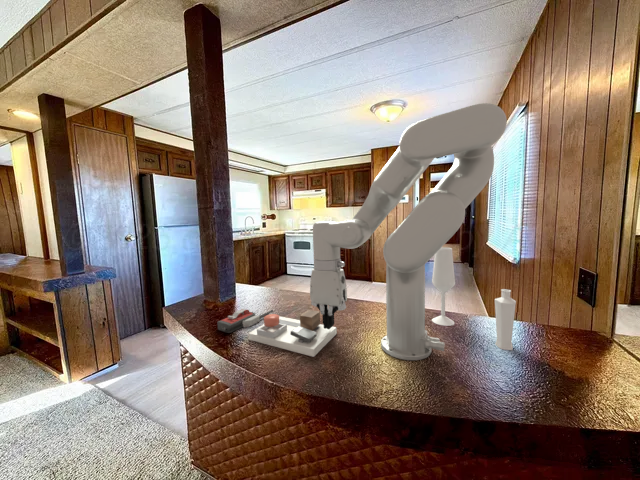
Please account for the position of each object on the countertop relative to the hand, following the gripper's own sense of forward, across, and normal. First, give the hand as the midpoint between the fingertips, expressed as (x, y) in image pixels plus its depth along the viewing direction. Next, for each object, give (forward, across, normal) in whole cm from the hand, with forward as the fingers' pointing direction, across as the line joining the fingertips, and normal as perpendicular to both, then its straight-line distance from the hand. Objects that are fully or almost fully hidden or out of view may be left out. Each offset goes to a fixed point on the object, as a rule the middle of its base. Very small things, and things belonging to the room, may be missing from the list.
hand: (328, 326), depth 73 cm
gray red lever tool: (+4, +32, +1) cm, 32 cm away
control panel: (+4, +10, +3) cm, 11 cm away
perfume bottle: (+3, -44, -14) cm, 46 cm away
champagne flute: (+3, -29, -26) cm, 39 cm away
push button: (-1, +15, +7) cm, 17 cm away
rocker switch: (0, +4, +7) cm, 8 cm away
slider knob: (+1, +6, 0) cm, 6 cm away
